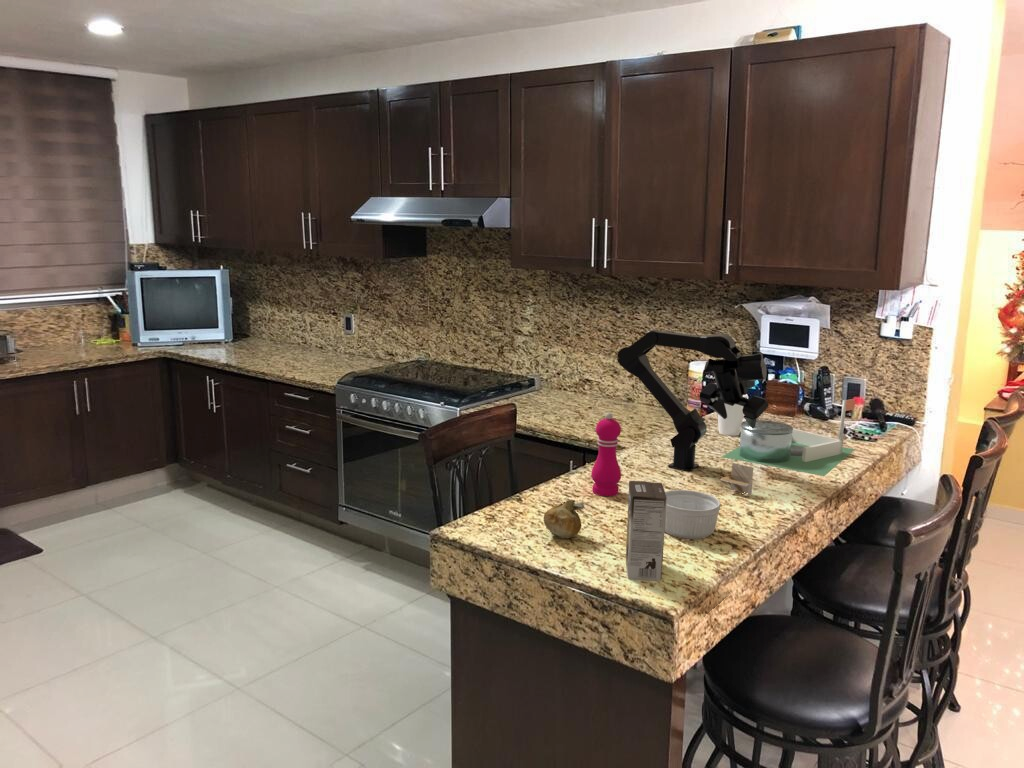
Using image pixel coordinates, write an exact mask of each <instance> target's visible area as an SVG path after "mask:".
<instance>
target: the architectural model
mask: <svg viewBox="0 0 1024 768" xmlns="http://www.w3.org/2000/svg"><path fill="white" fill-rule="evenodd" d="M753 477H754V466H748V465H744V464H740V463H735V462H732V465H731V472H729V476H727V475H726V476H724V477H721V478H720V481H723V482H726V483H730V489H729V490H730V491H734V490H735V491H734V492H738V493H739V495H741V494H742V493H744V492H745V493H744V494H746V493H748V494H747V497H748V496H749V495H751V494H753V485H754V484H753V482H754V481H753ZM742 495H743V494H742ZM751 496H752V495H751ZM749 497H750V496H749Z"/></svg>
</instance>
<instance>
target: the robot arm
mask: <svg viewBox="0 0 1024 768" xmlns="http://www.w3.org/2000/svg"><path fill="white" fill-rule="evenodd" d="M656 346H660V347H667V348H668V347H669V348H675V349H682V350H691V351H697V352H699V353H701V354H702V355H703V354H704V355H706V356H709V357H712V358H715V359H712V358H709V359H708V360H706V362H705V364H704V369H703V373H709V372H712V374H713V377H714V381H715V383H714V382H709V383H708V384H707V385H706V386H705V387H704V388H703V389H702V390H701V391H700V392H699V395H698V398H699V400H700V402H701V403H704V404H705V405H706V406H708V407H709V408H710V409H711V410H712V411H714V412H715V413H716V414H717V415H718V414H719V415H720V416H721V417H722V418H723V419H726V418H727V412H726V408H725V404H728V405H731V406H734V404H738V405H741V406H743V410H742V411H743V414H744V416H743V419H745V420H744V421H747V423H748V424H749V426H750V427H751V428H752V429H753V428H754V427H755V425H756V420H758V419H759V418H760V417H761V416H762V415H763V413H764V412H765V411H766V410H767V409H768V408H769V403H768V399H767V398H763V397H760V396H756V395H753V396H751V398H748V397H747V398H744V397H743V395H746V394H747V395H748V390H749V389H752V388H754V387H756V381H766V380H767V373H768V372H767V365H766V362H765V359H764V354H763V353H762V352H759V353H756V354H749V355H747V354H746V355H745V354H744V353H743V352H742V351H741V350H740V348H738V347H737V346H736V343H735V340H734V339H733V337H732V336H731V335H729V334H726V333H720V334H718V333H717V334H706V335H697V334H690V333H689V334H687V333H680V332H671V331H665V330H659V329H651V330H649V331H647V332H645V334H643V336H642V337H640V338H639V339H637V340H636V341H635V342H633V343H632V344H631V345H628V346H625V347H621V348H620V349H619V351H618V352H617V355H616V356H617V357H616V360H617V363H618V364H619V365H620V366H621V368H623V369H624V370H625V371H627V372H628V373H629V374H631V375H632V376H634V377H636V378H637V379H638V380H639V381H640V382H641V383H642V384H643V385H644V387H645V388H646V389H647V390H648V391H649V393H650V394H651V395H652V396H653V397H654V399H655V400H656V402H658V404H659V405H660V406H661V407H662V408H663V409H664V411H665V412H666V413H667V414H668V415H669V417H671V420H672V422H673V423H672V424H673V425H674V428H675V430H676V432H677V434H676V435H674V436H673V437H671V439H670V444H671V447H672V448H673V458H672V463H669V464H668V465H667V467H668V468H672V469H677V470H682V471H687V472H691V471H693V470H695V469H696V468H698V467H699V466H700V464H698V463H695V461H696V460H695V459H696V446H697V445H696V444H697V443H698V442H699V441H700V440H701V439H702V438H703V437H704V436H705V435H706V434H707V428H708V427H707V424H706V423H705V421H706V419H705V418H704V417H703V416H701V415H700V413H699V411H698V410H697V409H696V408H694V409H692V410H689V409H688V408H686V407H685V406H684V405H683V404H682V402H681V401H680V400H679V399H678V398H677V396H676V395H675V394H674V393H673V392H672V391H671V389H670V388H669V386H667V385H666V383H665V382H664V381H663V380H662V378H661V377H660V376H659V375H658V374H657V373H656V372H655V370H653V368H652V366H651V363H650V360H649V357H648V355H647V354H649V352H650V351H652V350H653V348H655V347H656ZM724 403H725V404H724Z"/></svg>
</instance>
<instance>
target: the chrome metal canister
mask: <svg viewBox="0 0 1024 768" xmlns="http://www.w3.org/2000/svg"><path fill="white" fill-rule="evenodd" d="M793 428H794V427H793V426H792V425H790V424H789V423H788V424H787V423H784V422H780V421H774V420H767V419H766V420H764V419H757V420H756V425H755V427H754V428H753V429H752V428H751V427H750V426H749V424H748V423H747V421H746V420H744V421H742V423H741V429H740V440H739V446H740V451H739V455H740V456H741V457H743V458H745V459H748V460H752V461H757V462H764V463H782V462H787V461H789V460H790V453H791V442H792V432H793Z"/></svg>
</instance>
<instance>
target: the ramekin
mask: <svg viewBox="0 0 1024 768" xmlns="http://www.w3.org/2000/svg"><path fill="white" fill-rule="evenodd" d="M664 491H665V490H664ZM665 494H666V497H667V502H666V519H665V533H666V534H667V535H671V536H672V537H676V538H680V539H686V540H698V539H706V538H708V537H710V536H711V535H712V534H713V533H714V531H715V529H716V526H717V521H718V516H719V512H720V510H721V502H720V500H719V499H718V498H717V497H716V496H714V495H711V494H708V493H705V492H702V491H696V490H689V489H672V490H666V491H665Z"/></svg>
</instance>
